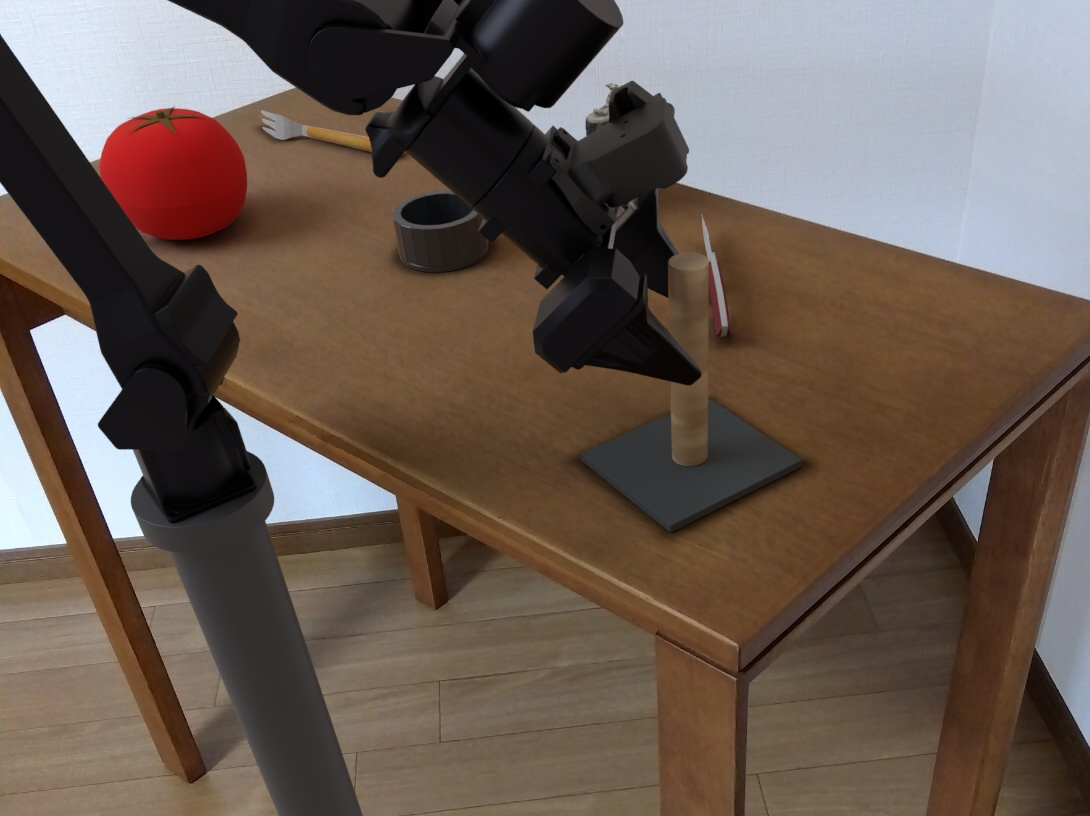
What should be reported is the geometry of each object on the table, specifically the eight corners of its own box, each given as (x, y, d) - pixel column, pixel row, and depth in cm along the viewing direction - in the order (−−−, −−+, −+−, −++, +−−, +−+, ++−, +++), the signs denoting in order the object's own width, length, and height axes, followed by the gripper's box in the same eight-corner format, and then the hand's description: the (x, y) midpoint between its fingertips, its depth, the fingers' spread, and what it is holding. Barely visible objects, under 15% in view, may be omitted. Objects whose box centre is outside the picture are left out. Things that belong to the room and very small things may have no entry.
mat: (670, 533, 72) (670, 525, 71) (581, 460, 78) (580, 453, 77) (801, 467, 76) (802, 459, 75) (707, 403, 82) (707, 396, 82)
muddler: (665, 460, 76) (660, 265, 67) (683, 442, 78) (681, 248, 68) (696, 470, 75) (695, 274, 66) (714, 452, 77) (716, 257, 67)
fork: (402, 137, 120) (261, 107, 127) (391, 139, 118) (249, 108, 126) (402, 162, 121) (262, 131, 129) (391, 164, 119) (250, 132, 127)
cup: (426, 281, 99) (418, 237, 96) (384, 250, 104) (376, 207, 101) (505, 253, 102) (499, 210, 99) (460, 224, 107) (454, 182, 104)
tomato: (209, 264, 104) (171, 142, 96) (98, 246, 108) (53, 128, 100) (285, 210, 111) (255, 94, 104) (178, 196, 116) (142, 83, 108)
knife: (733, 348, 87) (734, 312, 85) (716, 349, 88) (717, 313, 85) (707, 232, 102) (707, 199, 100) (693, 233, 103) (693, 200, 100)
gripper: (579, 122, 53) (804, 333, 59) (611, 2, 66) (791, 184, 73) (438, 281, 59) (656, 457, 65) (493, 141, 73) (669, 298, 79)
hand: (698, 339), depth 70 cm, fingers open, 9 cm apart
